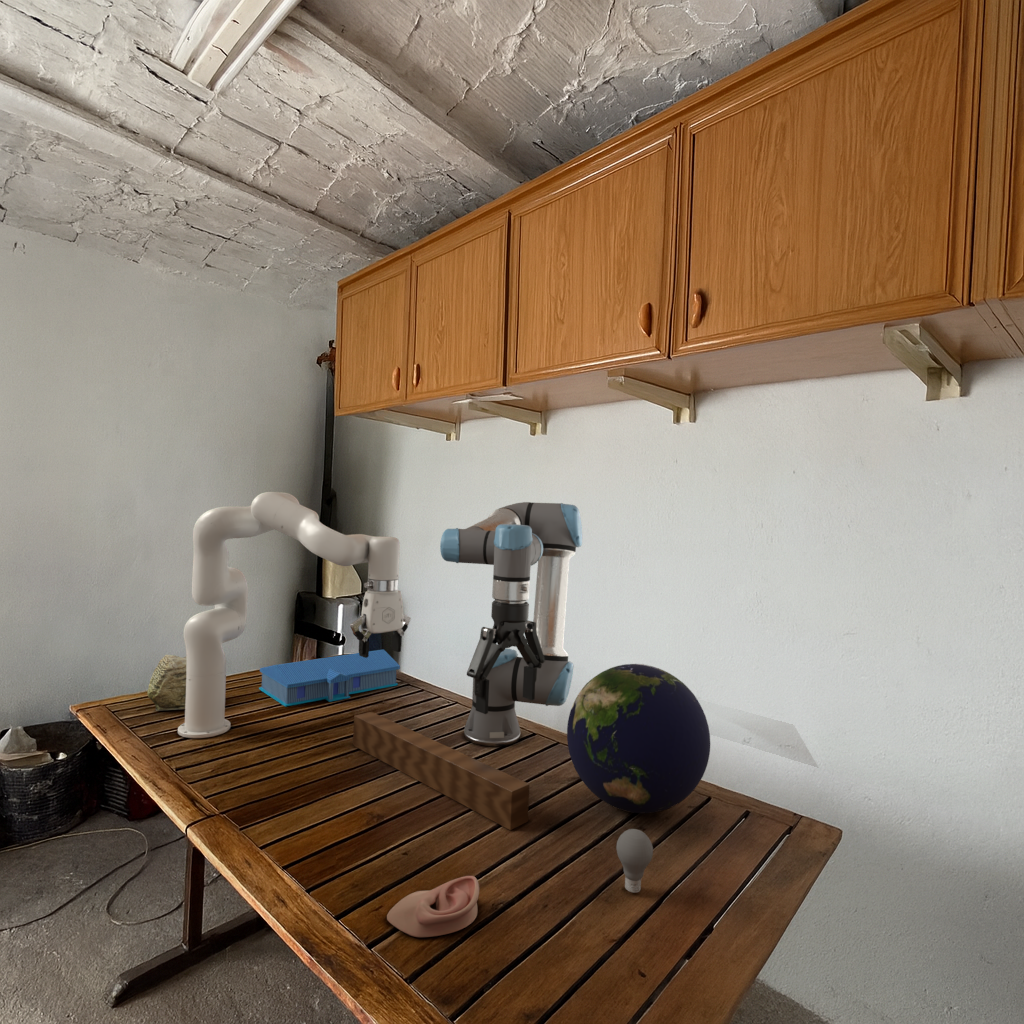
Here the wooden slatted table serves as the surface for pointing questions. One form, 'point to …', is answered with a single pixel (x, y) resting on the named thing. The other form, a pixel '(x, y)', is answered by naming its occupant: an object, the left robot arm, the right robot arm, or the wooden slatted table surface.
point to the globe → (638, 738)
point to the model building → (328, 677)
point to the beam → (444, 769)
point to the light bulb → (634, 857)
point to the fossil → (169, 683)
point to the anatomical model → (437, 909)
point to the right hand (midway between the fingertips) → (505, 705)
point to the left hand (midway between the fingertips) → (380, 653)
